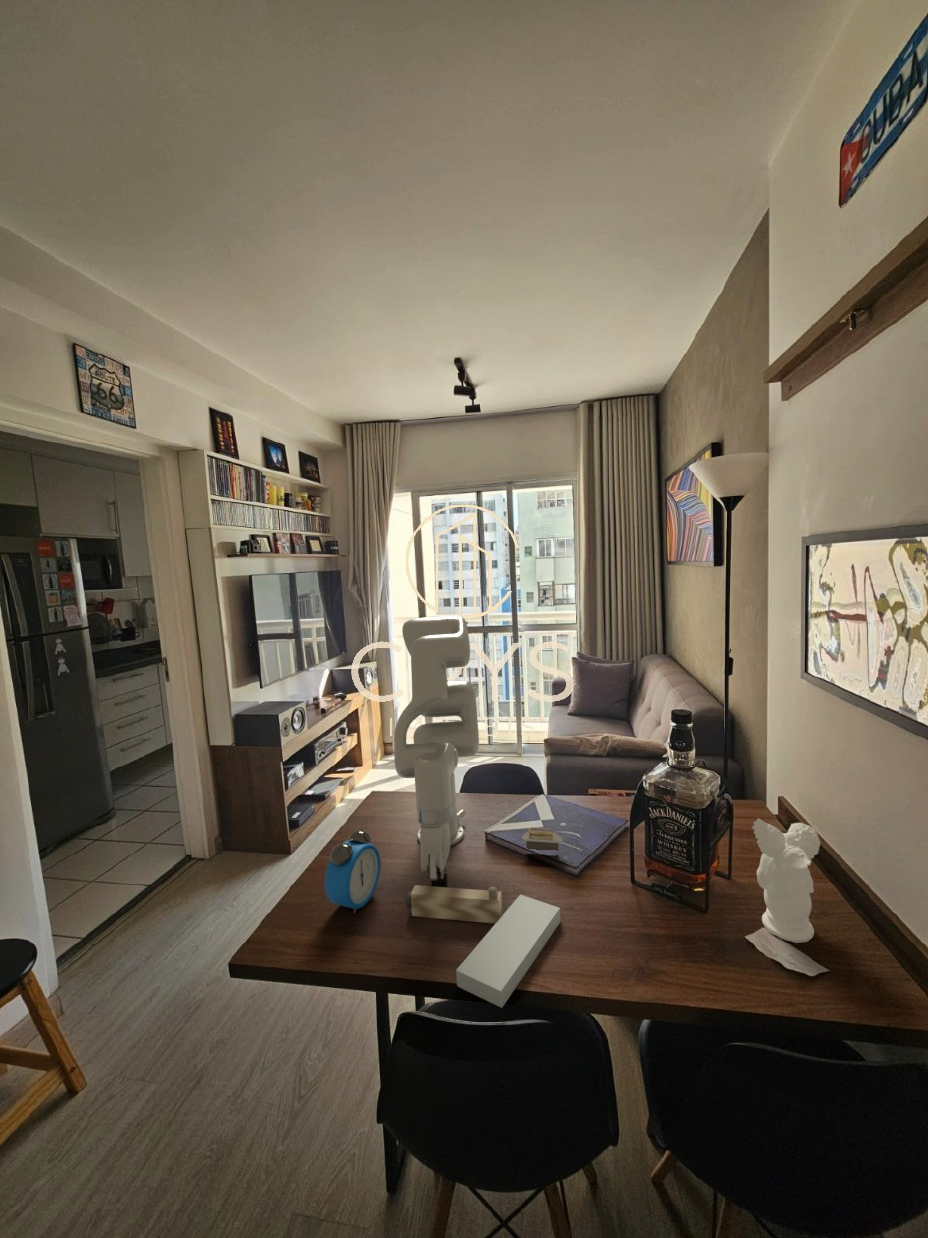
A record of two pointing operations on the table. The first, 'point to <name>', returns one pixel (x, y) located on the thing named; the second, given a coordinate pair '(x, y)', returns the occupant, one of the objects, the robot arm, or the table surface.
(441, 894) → the hinged leg
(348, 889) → the alarm clock
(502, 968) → the rail
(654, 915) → the table surface
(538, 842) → the platform
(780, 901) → the cherub figurine
